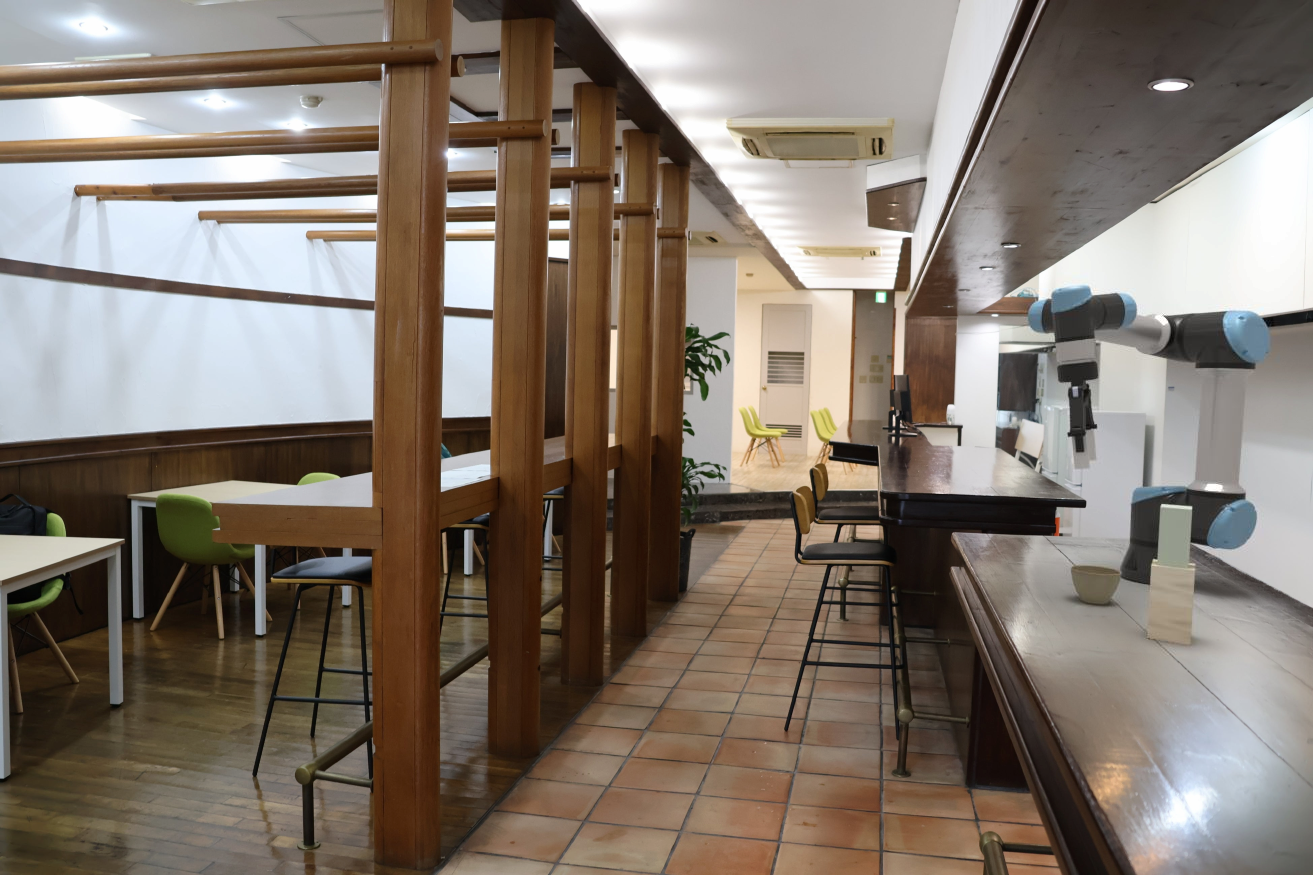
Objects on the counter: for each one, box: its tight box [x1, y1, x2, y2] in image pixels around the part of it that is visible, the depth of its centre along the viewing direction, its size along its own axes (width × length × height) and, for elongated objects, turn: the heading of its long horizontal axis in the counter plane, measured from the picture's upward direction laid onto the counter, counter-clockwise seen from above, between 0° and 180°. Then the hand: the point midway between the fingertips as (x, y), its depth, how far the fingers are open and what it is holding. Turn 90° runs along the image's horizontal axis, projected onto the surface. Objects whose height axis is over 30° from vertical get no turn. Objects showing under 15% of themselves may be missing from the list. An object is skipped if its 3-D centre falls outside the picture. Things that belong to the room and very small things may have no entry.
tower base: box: [1146, 601, 1194, 646], centre depth 167 cm, size 7×7×7 cm
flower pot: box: [1070, 564, 1121, 605], centre depth 194 cm, size 10×10×7 cm
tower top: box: [1148, 559, 1196, 609], centre depth 167 cm, size 7×7×7 cm
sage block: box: [1157, 504, 1192, 569], centre depth 166 cm, size 5×5×11 cm
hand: (1085, 464), depth 183 cm, fingers open, 13 cm apart
